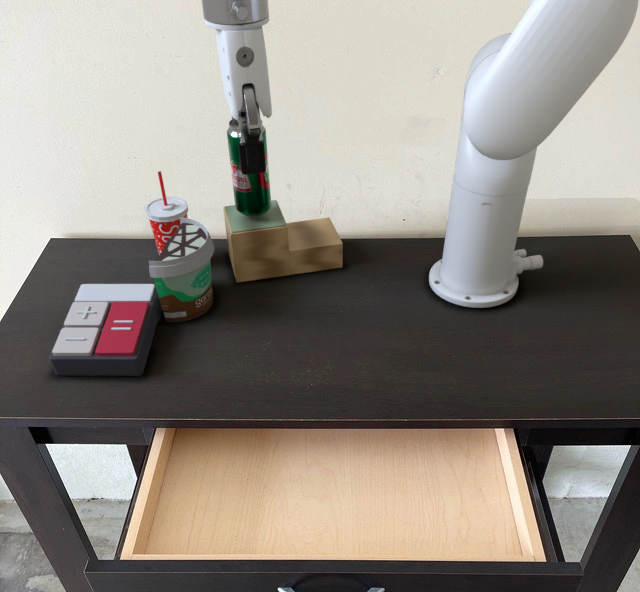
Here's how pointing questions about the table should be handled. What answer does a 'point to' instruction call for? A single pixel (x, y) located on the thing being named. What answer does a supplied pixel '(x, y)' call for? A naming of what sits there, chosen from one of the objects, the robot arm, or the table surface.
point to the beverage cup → (165, 216)
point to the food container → (184, 272)
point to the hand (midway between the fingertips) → (249, 161)
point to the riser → (279, 244)
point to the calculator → (107, 331)
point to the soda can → (248, 177)
